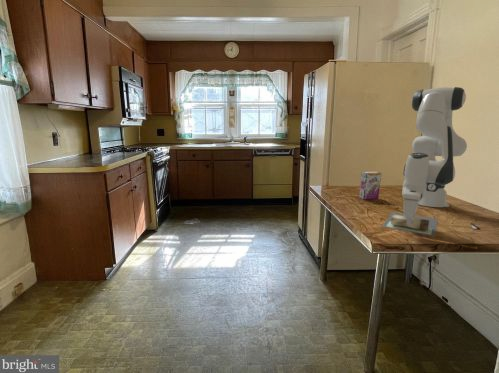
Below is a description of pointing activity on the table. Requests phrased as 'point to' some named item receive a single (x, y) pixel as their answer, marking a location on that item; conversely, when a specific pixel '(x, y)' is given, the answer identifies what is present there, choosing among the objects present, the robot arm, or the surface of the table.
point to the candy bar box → (370, 185)
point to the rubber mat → (429, 232)
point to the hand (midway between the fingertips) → (409, 222)
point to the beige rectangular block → (415, 223)
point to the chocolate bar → (474, 226)
